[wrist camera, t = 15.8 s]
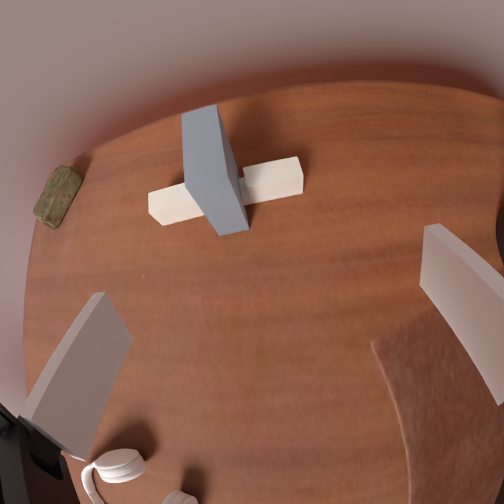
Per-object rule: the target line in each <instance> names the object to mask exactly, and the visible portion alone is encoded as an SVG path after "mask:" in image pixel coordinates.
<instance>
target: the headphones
mask: <svg viewBox="0 0 504 504" xmlns="http://www.w3.org/2000/svg"><path fill="white" fill-rule="evenodd" d="M94 467H95V468H97V470H98V472H99V474H100V477H101V478H102V479H103V480H104V481H106V482H110V483H120V482H125V481H129V480H131V479H134V478H136V477H138V476H140V475H141V474H142V473H143V472H144V471H145V470H146V468H147V464H146V462H145V461H144V460H143V458H142V456H141V455H140V454H139V452H138V451H137V450H134V449H117V450H113V451H110V452H107V453H105V454H103V455H101V456H100V457H99V458H98V459H97V460H95V461H93V462H92V463H91V464H89V465H87V466H86V467H85V468H84V469H83V471H82V482H83V485H84V488H85V490H86V492H87V493H88V495H89V497H90V498H91V499H92V501H93V502H94V504H105V503H104V502H103V501H102V499H101V498H100V496H99V495H98V493H97V491H96V490H95V485H94V483H93V480H92V469H93V468H94ZM162 504H198V502H197V499H196V498H195V497H194V496H191V495H189V494H186V493H183V492H182V491H173V492H172V493H170V494H169V495H168V496H167V497H166V499H165V500H164V502H163V503H162Z"/></svg>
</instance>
